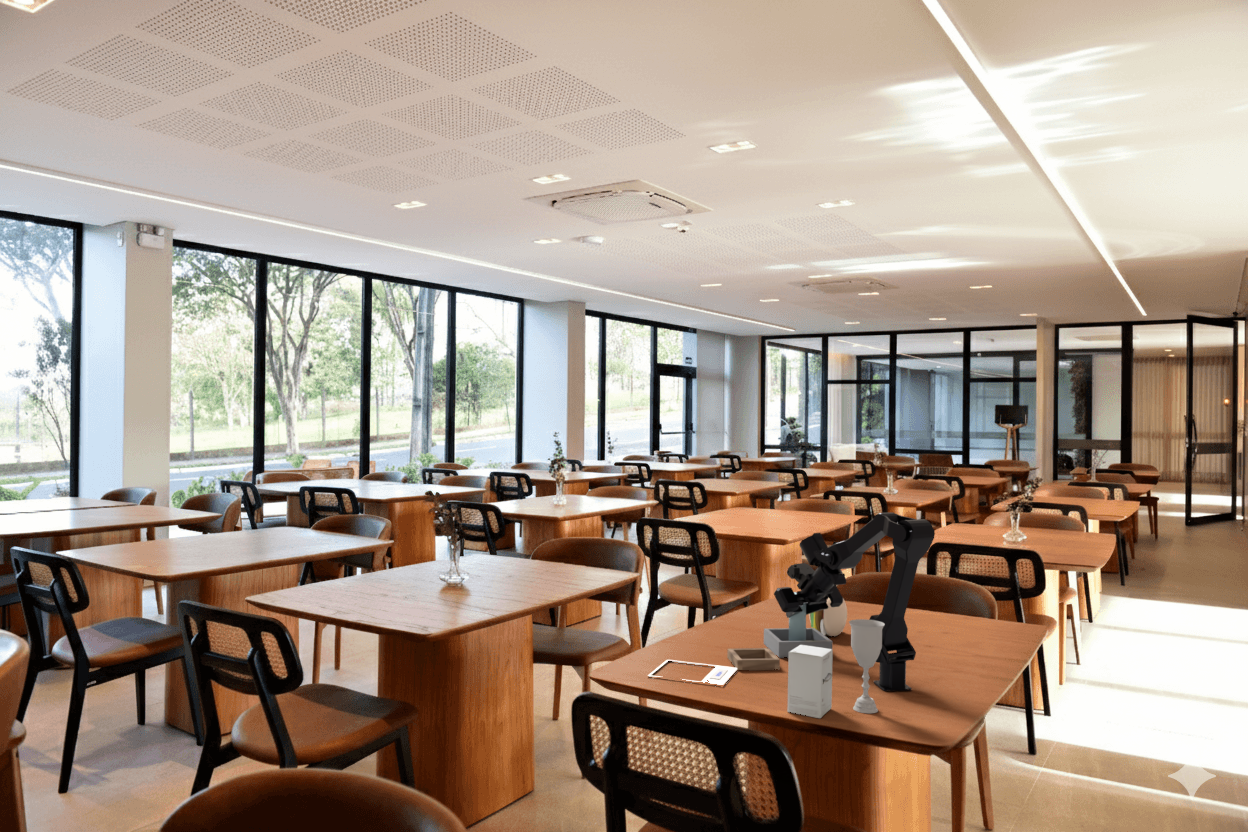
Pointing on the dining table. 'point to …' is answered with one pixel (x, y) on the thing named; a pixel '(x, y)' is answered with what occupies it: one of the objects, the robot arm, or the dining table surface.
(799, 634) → the pale blue tapered cylinder
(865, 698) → the chalice
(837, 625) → the hamburger
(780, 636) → the bin
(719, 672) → the photo frame
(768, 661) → the holder
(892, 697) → the dining table surface
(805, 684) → the supplement box
